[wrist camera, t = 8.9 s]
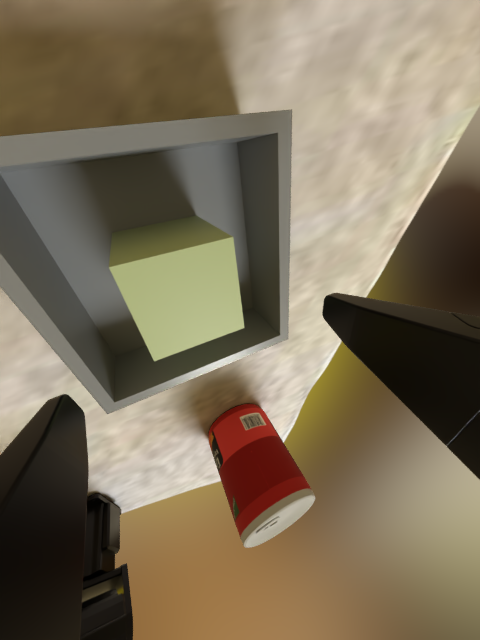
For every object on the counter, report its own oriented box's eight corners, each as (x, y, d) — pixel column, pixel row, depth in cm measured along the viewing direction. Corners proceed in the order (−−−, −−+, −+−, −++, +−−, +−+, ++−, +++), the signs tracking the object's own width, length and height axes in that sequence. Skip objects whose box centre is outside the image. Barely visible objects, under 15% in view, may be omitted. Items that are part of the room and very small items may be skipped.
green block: (143, 306, 16) (154, 361, 11) (112, 232, 13) (108, 267, 8) (210, 285, 17) (244, 327, 13) (196, 215, 14) (233, 236, 10)
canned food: (195, 431, 27) (230, 549, 18) (250, 392, 27) (308, 489, 19) (222, 449, 32) (259, 549, 23) (269, 416, 32) (321, 502, 24)
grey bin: (109, 361, 18) (107, 414, 14) (-26, 156, 10) (-117, 147, 6) (257, 308, 21) (288, 339, 17) (242, 126, 13) (291, 109, 10)
